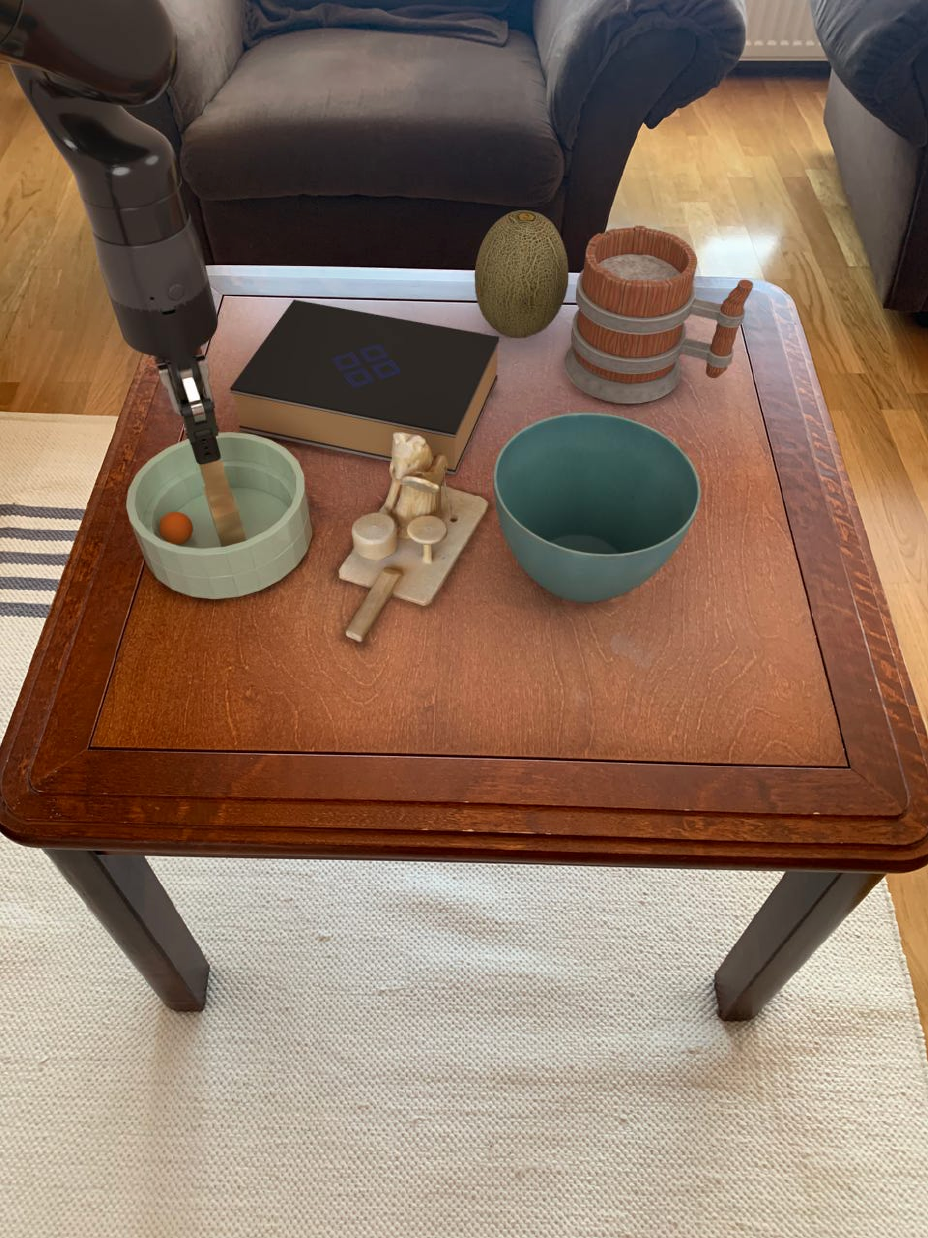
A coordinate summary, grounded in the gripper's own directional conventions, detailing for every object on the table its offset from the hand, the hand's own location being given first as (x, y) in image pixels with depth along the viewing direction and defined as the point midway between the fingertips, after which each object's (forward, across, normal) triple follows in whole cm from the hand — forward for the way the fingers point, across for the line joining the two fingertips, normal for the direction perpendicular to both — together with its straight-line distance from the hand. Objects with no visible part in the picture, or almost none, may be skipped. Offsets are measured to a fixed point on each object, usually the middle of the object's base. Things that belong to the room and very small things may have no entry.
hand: (205, 450), depth 83 cm
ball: (+9, -1, -5) cm, 11 cm away
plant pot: (+12, +17, +31) cm, 37 cm away
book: (+12, -14, +20) cm, 27 cm away
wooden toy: (+12, +9, +15) cm, 21 cm away
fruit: (+12, -22, +42) cm, 49 cm away
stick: (+11, 0, 0) cm, 11 cm away
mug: (+12, -8, +52) cm, 54 cm away
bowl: (+12, 0, 0) cm, 12 cm away
